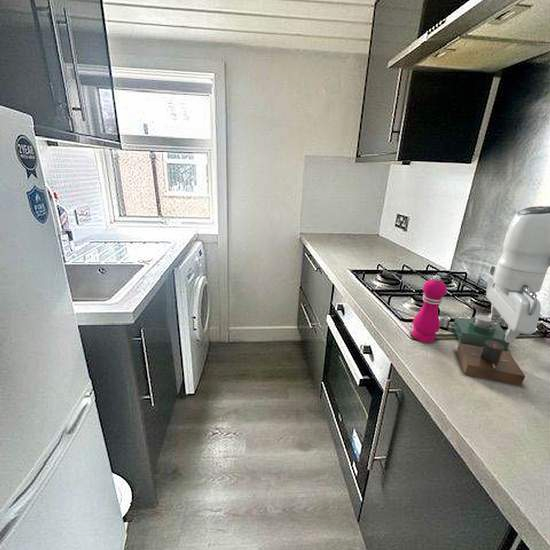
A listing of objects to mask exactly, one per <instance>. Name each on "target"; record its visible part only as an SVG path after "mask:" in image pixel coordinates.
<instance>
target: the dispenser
mask: <svg viewBox="0 0 550 550" xmlns="http://www.w3.org/2000/svg"><path fill="white" fill-rule="evenodd" d="M475 319H476V316H473V317H470V318H464V317H457V316H455V317H454V321H453V324H452V327H453V330H454V332H455V334H456V336H457V339H458V341H459V342H458V343H462V344H467V345H473V346H478V347H483V346H484V343H485V341H487V340H490V341H495V342H497V343H500V344H501V345H502V346H503V347H504V349H503V351H505V352H508V350H509V346H510V344H511V343H508V342H505V340H504V339H503V336H504V333H505V331H504V329H503V328H502V327H501V325H500V323H493V322H492V323H491V326H490V327H483V326H480V325H477V324H476V323H475Z"/></svg>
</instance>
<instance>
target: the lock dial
mask: <svg viewBox="0 0 550 550" xmlns="http://www.w3.org/2000/svg"><path fill="white" fill-rule="evenodd" d="M482 347H483V349H482V352H481V357H482V358H483V359H484V360H486V361H489V362H492V363H497V362H499V360H500V357H501V354H502V352H503V351H504V350H503V349H504V347H503V346H502V345H501V344H500V343H497V342H495V341H490V340H487V341H485V343H484V346H482Z"/></svg>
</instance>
